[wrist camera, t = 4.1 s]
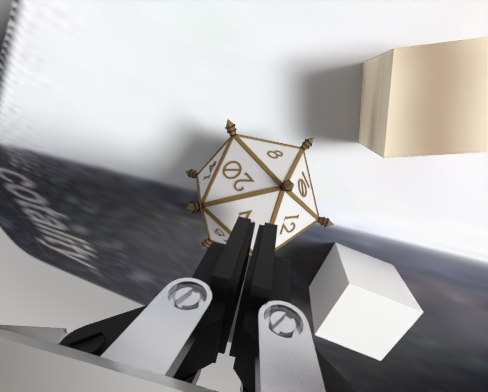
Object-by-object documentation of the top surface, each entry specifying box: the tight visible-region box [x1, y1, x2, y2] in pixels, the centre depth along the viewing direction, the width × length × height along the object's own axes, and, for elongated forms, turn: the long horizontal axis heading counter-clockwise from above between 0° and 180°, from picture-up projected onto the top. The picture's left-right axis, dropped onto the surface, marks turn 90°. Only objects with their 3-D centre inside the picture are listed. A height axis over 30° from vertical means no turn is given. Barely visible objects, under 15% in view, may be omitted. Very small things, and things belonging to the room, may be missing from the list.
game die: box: [186, 119, 334, 257], centre depth 16 cm, size 9×8×10 cm
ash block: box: [359, 37, 488, 158], centre depth 14 cm, size 5×5×5 cm
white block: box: [309, 243, 423, 361], centre depth 19 cm, size 5×5×5 cm
